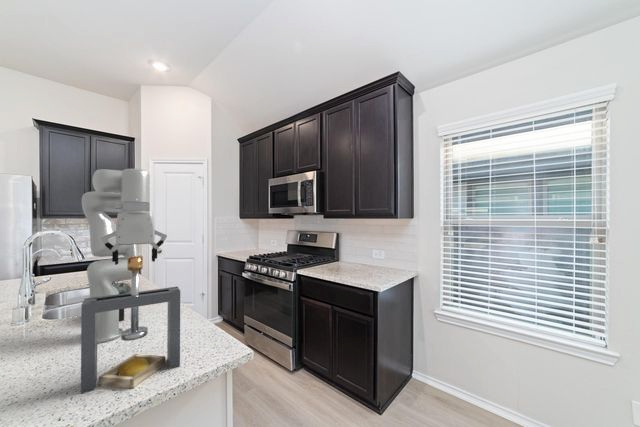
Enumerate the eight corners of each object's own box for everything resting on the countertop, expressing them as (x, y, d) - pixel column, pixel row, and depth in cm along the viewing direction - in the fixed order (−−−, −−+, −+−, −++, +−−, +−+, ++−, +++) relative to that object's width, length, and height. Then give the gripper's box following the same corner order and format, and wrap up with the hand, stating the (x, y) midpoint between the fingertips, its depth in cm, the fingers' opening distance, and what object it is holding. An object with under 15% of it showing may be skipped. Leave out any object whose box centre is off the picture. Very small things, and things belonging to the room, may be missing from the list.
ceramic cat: (127, 320, 131) (127, 278, 131) (110, 324, 126) (111, 281, 126) (117, 311, 144) (117, 272, 144) (101, 314, 139) (101, 274, 139)
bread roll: (121, 386, 81) (121, 372, 81) (117, 373, 88) (117, 360, 88) (153, 375, 87) (153, 362, 87) (148, 363, 93) (148, 352, 93)
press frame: (84, 381, 83) (84, 298, 83) (176, 357, 97) (177, 286, 97) (80, 394, 77) (81, 304, 77) (179, 366, 91) (180, 291, 92)
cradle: (98, 385, 81) (98, 376, 81) (134, 361, 95) (134, 353, 95) (133, 388, 80) (133, 379, 80) (165, 363, 93) (165, 356, 93)
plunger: (121, 334, 88) (121, 256, 88) (147, 329, 92) (147, 254, 92) (120, 342, 82) (121, 259, 83) (148, 336, 86) (148, 257, 87)
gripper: (99, 207, 79) (99, 267, 79) (168, 208, 89) (167, 261, 89) (102, 208, 86) (101, 263, 85) (165, 209, 95) (165, 258, 95)
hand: (135, 262), depth 87 cm, fingers open, 9 cm apart
